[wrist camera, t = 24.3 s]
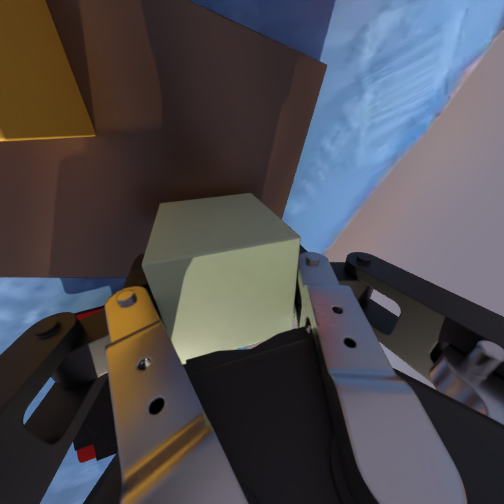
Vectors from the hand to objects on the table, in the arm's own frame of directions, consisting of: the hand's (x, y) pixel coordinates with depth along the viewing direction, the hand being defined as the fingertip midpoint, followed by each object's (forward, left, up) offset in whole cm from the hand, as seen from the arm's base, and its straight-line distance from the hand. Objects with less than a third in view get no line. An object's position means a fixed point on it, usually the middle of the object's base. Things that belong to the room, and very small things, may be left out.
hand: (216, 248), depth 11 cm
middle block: (0, 0, -1) cm, 1 cm away
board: (-4, +3, -4) cm, 6 cm away
